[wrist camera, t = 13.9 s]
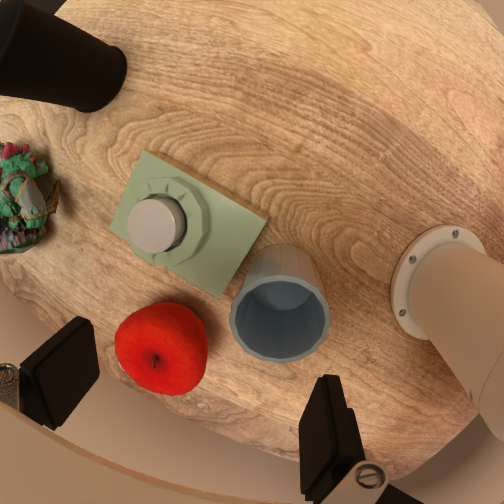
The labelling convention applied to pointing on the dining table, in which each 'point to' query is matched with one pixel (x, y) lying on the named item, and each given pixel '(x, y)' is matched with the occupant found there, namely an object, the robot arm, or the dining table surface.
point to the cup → (280, 306)
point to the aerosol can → (55, 60)
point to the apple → (163, 348)
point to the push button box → (193, 222)
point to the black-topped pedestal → (45, 4)
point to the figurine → (22, 199)
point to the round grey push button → (155, 224)
